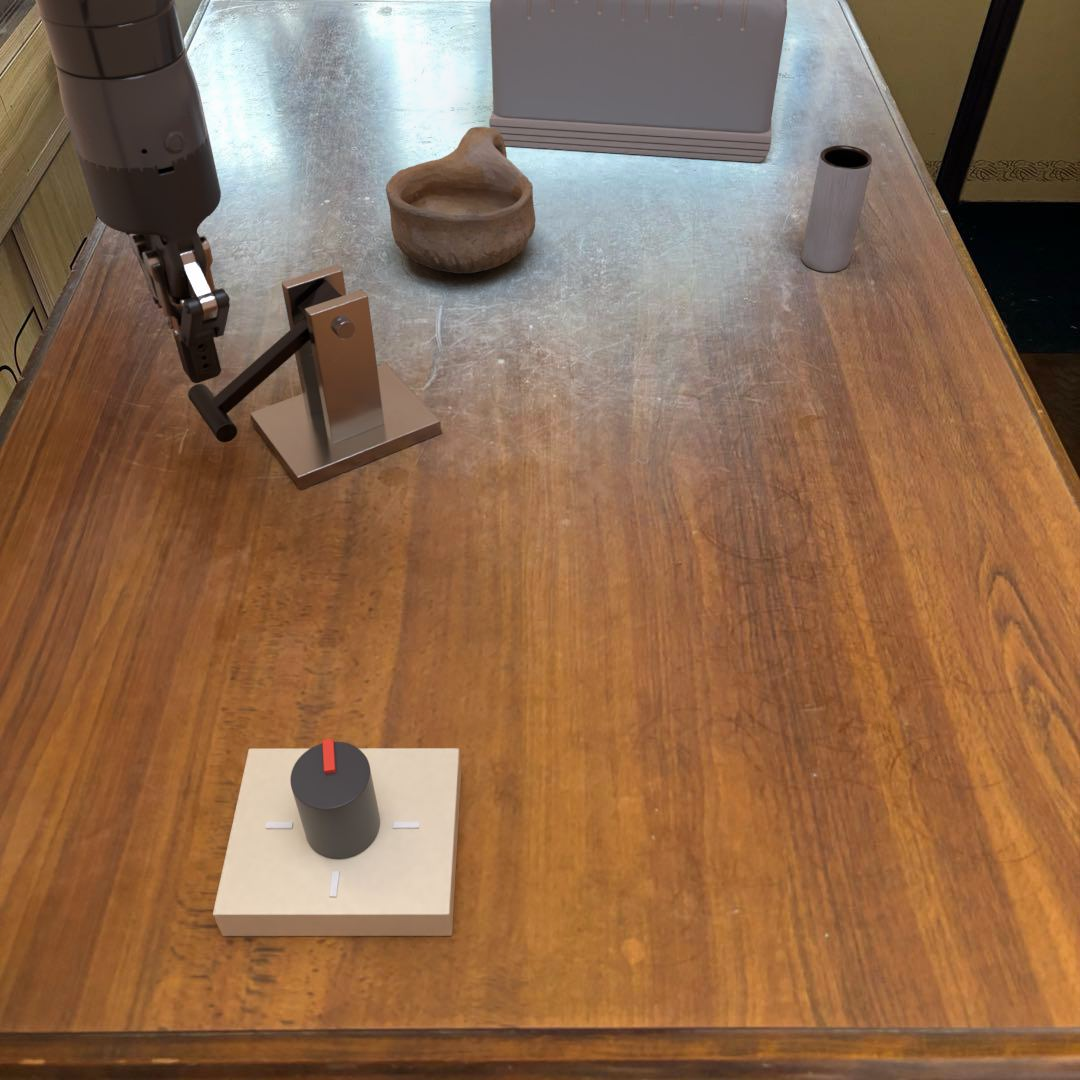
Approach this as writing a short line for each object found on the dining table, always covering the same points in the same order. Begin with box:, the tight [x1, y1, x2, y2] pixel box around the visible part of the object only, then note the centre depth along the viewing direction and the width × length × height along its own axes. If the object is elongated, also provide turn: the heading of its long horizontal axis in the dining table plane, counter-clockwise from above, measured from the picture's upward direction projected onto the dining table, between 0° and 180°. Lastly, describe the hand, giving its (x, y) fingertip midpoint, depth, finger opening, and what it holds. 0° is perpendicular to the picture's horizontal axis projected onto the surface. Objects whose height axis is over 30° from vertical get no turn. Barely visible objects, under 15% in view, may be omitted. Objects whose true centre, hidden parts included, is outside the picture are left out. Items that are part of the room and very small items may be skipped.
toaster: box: [489, 0, 788, 163], centre depth 126 cm, size 30×36×18 cm
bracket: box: [249, 264, 442, 491], centre depth 82 cm, size 12×9×13 cm
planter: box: [800, 144, 873, 273], centre depth 101 cm, size 4×4×10 cm
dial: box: [290, 738, 380, 859], centre depth 57 cm, size 4×4×5 cm
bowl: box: [385, 126, 536, 274], centre depth 103 cm, size 18×14×10 cm
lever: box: [187, 281, 341, 443], centre depth 79 cm, size 13×6×2 cm, turn 123°
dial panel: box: [212, 747, 462, 937], centre depth 60 cm, size 12×10×3 cm
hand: (203, 374), depth 76 cm, fingers closed
